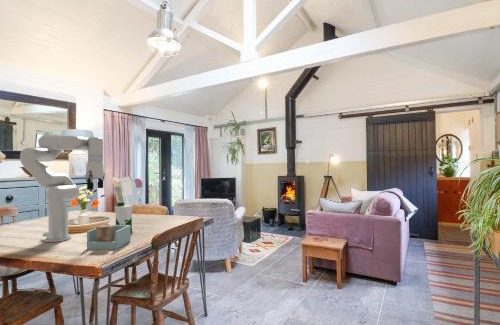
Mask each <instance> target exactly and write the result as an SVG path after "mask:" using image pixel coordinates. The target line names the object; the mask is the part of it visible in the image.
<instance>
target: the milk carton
mask: <svg viewBox="0 0 500 325" xmlns="http://www.w3.org/2000/svg"><path fill="white" fill-rule="evenodd" d="M133 206H134V205H133V204H132V205H131V204H130V205H129V204H125V202H121V201H120V202H119V201H118V202H117V204H116V205H115V206H114V213H115V225H131V234H133V219H132V218H133V213H132V212H133V208H134V207H133Z"/></svg>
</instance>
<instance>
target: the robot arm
mask: <svg viewBox="0 0 500 325" xmlns="http://www.w3.org/2000/svg"><path fill="white" fill-rule="evenodd" d="M37 142H38V145H39V146H40V147H33V146H32V147H31V146H30V147H26V148H24V149H22V150H21V151H20V154H19V159H20V163H21V165H22V166H23V167H24V168H25V169H26V171H28V172H29V173H30V174H31V176H32V177H33V179H35V181H36V182H37V183H38V184H39V186H40V187H41V188H43V189H46V194H45V195H46V200H47V205H48V209H47V211H48V213H47V214H48V221H47V222H48V223H47V224H48V232H46V231H45V232H43V233H42V237H46V238H45V239H44V241H45V242H46V243H60V242H64V241H68V240H70V239H72V235H70V234H69V207H68V204H67V203H66V202H69V201H75V200H76V199H78V198H79V196H80V188H78V185H76V183H75V182H74V181H73V179H72V178H71V177H70V176H69V175H68V174H66V173H63V172H52V171H51V170H50V169H49V168H48V167H47V166H46V165H45V164H44V163H43V162H46V163H47V162H52V161H54V160H55V159H56V158H57V157H58V156H59V155H60V154H61V153H63V151H65V150H74V151H87V162H86V167H85V168H86V171H85V174H84V176H85V180H86V189H87V190H88V191H91V190H94V180H95V179H97V184H96V185H97V189H104V181H105V176H106V173H105V172H104V163H103V161H104V139H103V138H102V137H99V136H90V137H84V136H77V135H58V134H57V135H56V134H55V135H53V134H52V135H51V134H46V135H42V136H40V137H39V138H38V140H37Z"/></svg>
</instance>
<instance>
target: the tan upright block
mask: <svg viewBox="0 0 500 325" xmlns="http://www.w3.org/2000/svg"><path fill="white" fill-rule="evenodd" d="M95 228H96V242H114V226H102V225H98V226H96V227H95Z"/></svg>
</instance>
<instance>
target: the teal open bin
mask: <svg viewBox="0 0 500 325" xmlns="http://www.w3.org/2000/svg"><path fill="white" fill-rule="evenodd" d="M101 226H114V242H96V227H95V228H92V229H90V230H87V231H86V249H87V250H117V249H119V248H121V247H123V246H124V245H126V244H127V243H130V242H131V234H132V233H131V225H116V224H115V225H113V224H105V225H104V224H103V225H101Z"/></svg>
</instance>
